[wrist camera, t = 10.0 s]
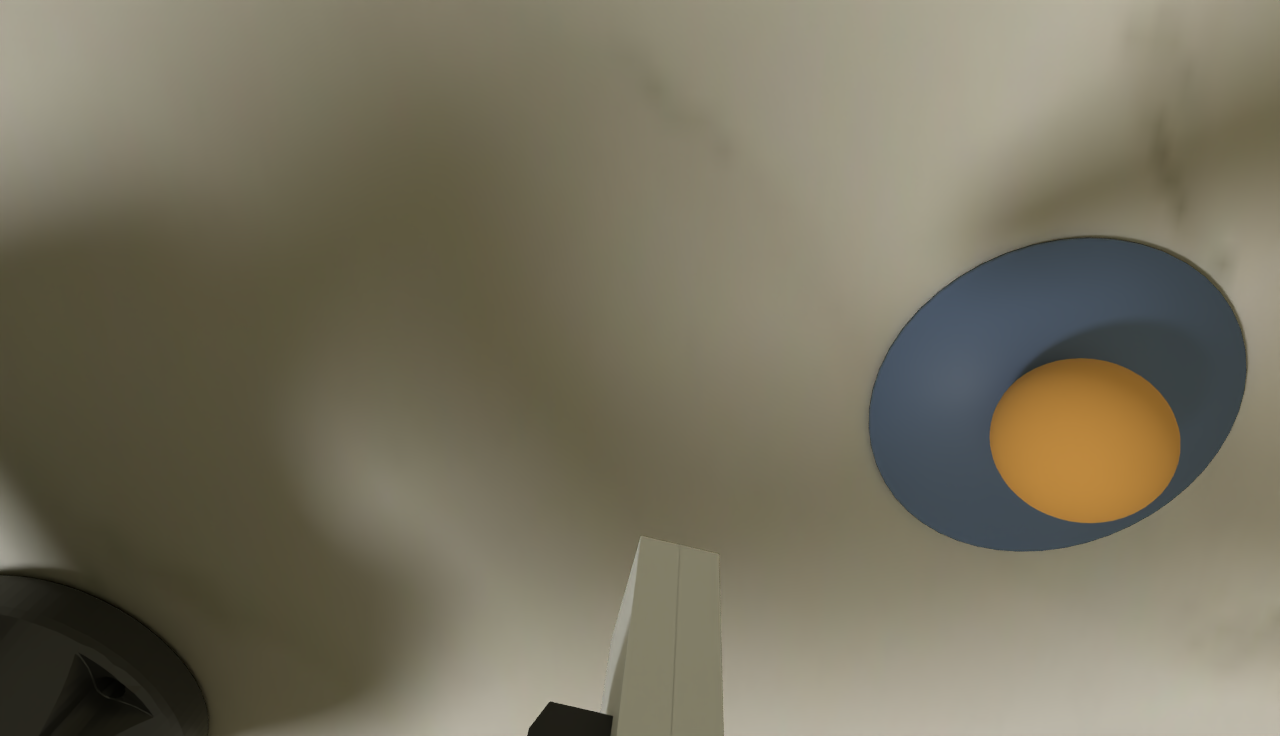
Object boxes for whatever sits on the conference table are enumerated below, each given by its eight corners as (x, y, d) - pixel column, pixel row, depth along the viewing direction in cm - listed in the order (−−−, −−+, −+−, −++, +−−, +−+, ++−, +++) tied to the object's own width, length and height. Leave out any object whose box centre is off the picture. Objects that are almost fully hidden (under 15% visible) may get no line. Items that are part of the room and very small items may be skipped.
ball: (965, 441, 29) (961, 509, 25) (1028, 315, 27) (1037, 364, 22) (1113, 499, 28) (1139, 584, 23) (1194, 371, 25) (1242, 437, 21)
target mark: (822, 507, 30) (822, 509, 30) (950, 196, 25) (952, 198, 24) (1126, 578, 31) (1129, 582, 30) (1323, 289, 25) (1327, 291, 25)
